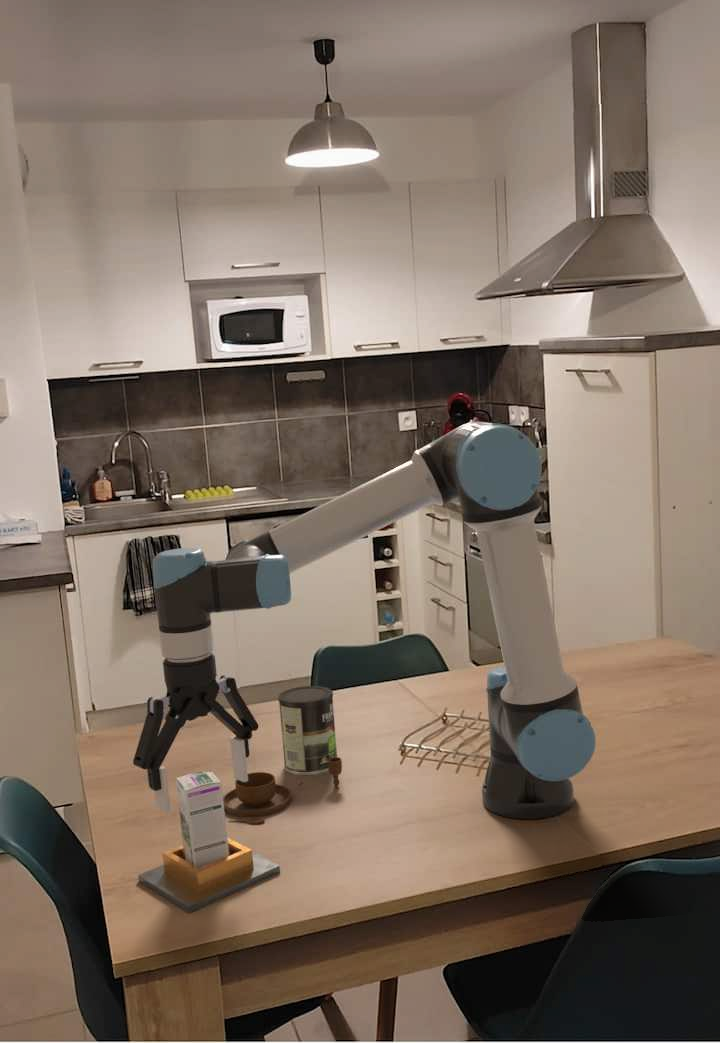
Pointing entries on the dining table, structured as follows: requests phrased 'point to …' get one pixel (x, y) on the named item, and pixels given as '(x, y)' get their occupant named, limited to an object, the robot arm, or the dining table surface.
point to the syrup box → (202, 818)
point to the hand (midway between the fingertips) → (203, 794)
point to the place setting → (266, 793)
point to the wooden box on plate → (206, 876)
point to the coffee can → (307, 729)
